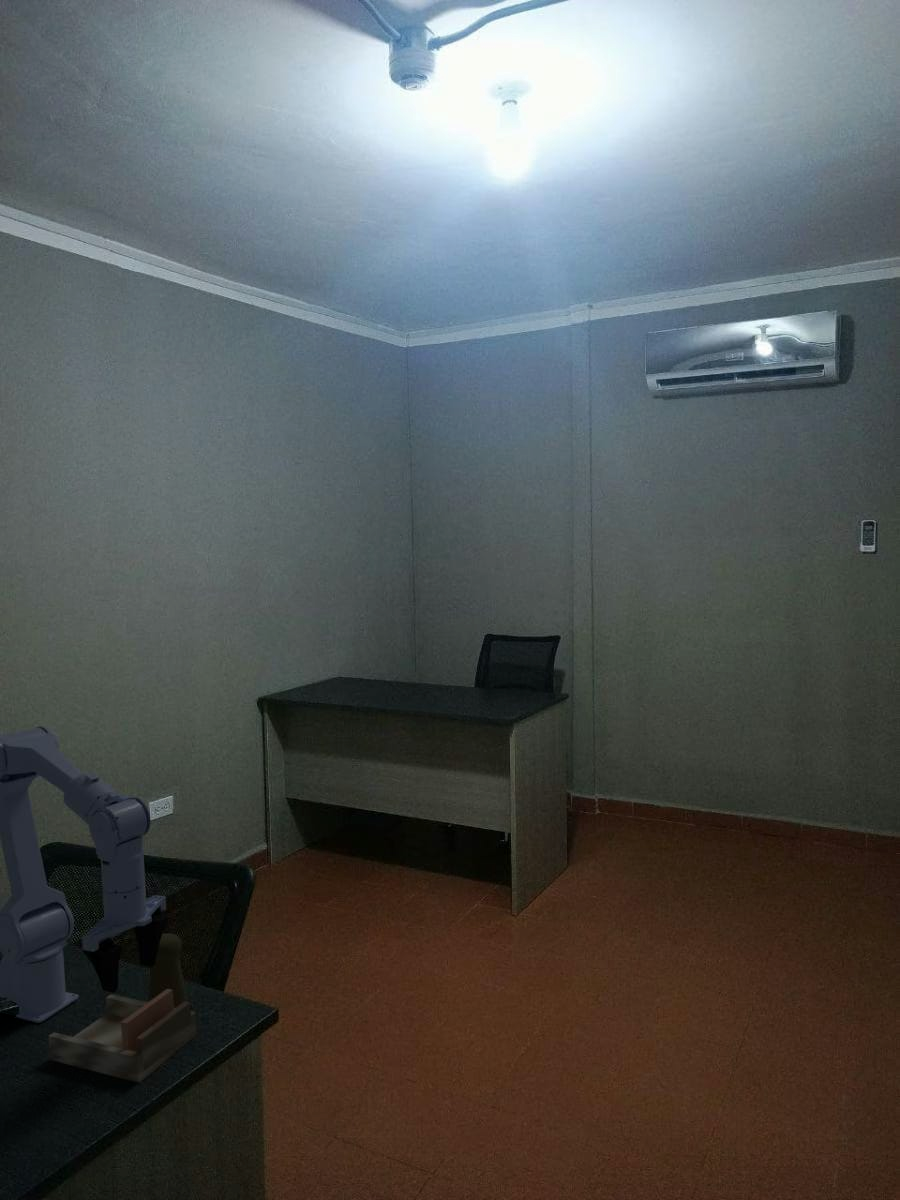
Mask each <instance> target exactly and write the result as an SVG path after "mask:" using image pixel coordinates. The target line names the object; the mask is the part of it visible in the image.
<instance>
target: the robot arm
mask: <svg viewBox="0 0 900 1200" xmlns="http://www.w3.org/2000/svg"><path fill="white" fill-rule="evenodd" d="M59 749H60V748H59V742H58V738H57V735H56V734H54V733H53V732H52V731H51V730H50V729H49V728H48V727H47V726H44V725H39V726H36V727H35V728H30V729H25V730H21V731H16V732H12V733H7V734H2V735H0V844H1V850H2V854H3V859H4V864H5V868H6V873H7V878H8V883H9V888H10V893H11V896H10V897H9V898H8V900H7V901H6V903H4V905H3V906H2V907H1V909H0V953H1V954H2V956H3V957H2V958H1V960H0V997H2V998H7V999H8V1000H11V1001H13V1002H15V1003H16V1004H17V1005H18V1006H19V1014H17V1015H16V1017H18V1018H17V1019H20V1018H21V1019H22V1020H25V1021H30V1022H33V1023H37V1024H39V1023H42V1022H44V1021H45V1020H47V1019H49V1018H50V1017H52V1016H53V1015H55V1014H56V1013H58V1012H60V1011H61V1010H63V1009H64V1008H65V1007H67V1006H69V1005H70V1004H72V1003H73V1002H75V1001H77V1000H78V999H79V998H80V996H79V994H76V993H72V992H67V991H66V977H65V976H66V975H65V964H64V963H65V962H64V961H65V960H64V950H63V948H65V947H67V945H68V942H67V941H68V939H70V937H71V936H72V934H73V931H74V925H75V922H74V921H75V920H74V915H73V913H72V910H71V909H70V908H69V906H68V904H67V901H66V897H65V893H64V892H62V891H60V890H58V889H55V888H52V887H50V886H49V885H48V883H47V882H48V881H47V877H46V872H45V869H44V868H45V867H44V863H43V858H42V853H41V848H40V843H39V840H38V835H37V834H38V833H37V830H36V825H35V820H34V815H33V810H32V805H31V800H30V796H29V788H30V786H31V785H32V783H33V781H34V780H35V779H37V778H38V777H41V778H42V779H44V780H46V781H47V782H49V783H50V784H51V785H52V786H54V787H56V788H57V789H58V790H60V791H61V792H63V802H64V804H65V806H66V807H67V808H69V809H70V811H72V812H73V813H74V814H75V815H77V817H79V818H80V819H81V820H83V822H84V823H86V824H87V825H88V829H89V833H90V837H91V839H92V841H93V843H94V846H95V854H96V856H97V859H99V860H100V863H101V864H100V866H101V867H100V869H101V884H102V885H101V887H102V901H103V915H104V916H103V917H102V918H101V919H100V921H98V922H97V924H95V925H94V926H93V927H92V928H91V929H90V930H89V931H88V932H86V933H84V934H83V935H82V936H81V942H82V943H81V950H82V953H83V955H85V956H86V958H87V959H88V960H89V961H90V963H91V965H92V966H93V968H94V970H95V974H97V978H98V980H99V982H100V986H101V989H102V991H103V992H108V993H112V994H114V993H116V992H117V991H118V988H119V966H120V965H119V963H120V960H121V959H120V958H121V955H122V952H123V948H124V947H123V946H122V945H117V944H114V941H112V939H113V938H115V937H116V936H118V935H120V934H121V933H123V932H126V931H128V930H130V929H133V930H134V933H135V935H136V936H135V937H136V940H137V942H136V943H137V949H138V958H139V962H140V965H141V966H145V967H149V968H151V967H153V966H154V965H155V962H156V957H157V952H158V947H159V943H160V940H161V936H162V934H164V931H165V929H166V927H167V925H168V923H169V921H170V920H169V915H168V914H167V913H164V912H163V911H165V910H166V909H167V899H166V896H163V895H157V894H155V895H153V896H150V897H148V898H147V893H146V876H145V873H146V872H145V860H144V859H145V858H144V841H143V840H144V839H143V838H144V837H143V836H145V835H147V834H148V833H149V831H150V829H151V823H152V821H151V814H150V811H149V809H148V806H147V805H146V803H145V802H143V801H142V799H141V798H140V797H138V796H131V797H129V796H127V795H124V796H122V795H121V794H119V793H118V792H117V791H116V790H115V789H113V788H112V787H111V786H110V785H109V784H107V783H106V782H105V781H104V780H103V779H102V778H100V776H99V775H97V774H96V773H91V772H90V773H82V772H81V771H80V770H79V769H78V768H77V767H76V766H75V765H74V764H73V763H72V762H71V760H69V758H67V757H66V756H65V755H64V753H62V752H61V751H60V750H59ZM16 1017H15V1018H16Z"/></svg>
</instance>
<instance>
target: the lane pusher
mask: <svg viewBox="0 0 900 1200" xmlns="http://www.w3.org/2000/svg"><path fill="white" fill-rule="evenodd" d="M147 1002H148V1001H147ZM173 1010H174V1002H173V990H172V989H166V990H165V991H163V992H162V993H161V994H159V995H158V996H156V997H155V998H154V999H152V1000H151V1001H149V1002H148V1003H147V1004H145V1005H144V1006H142V1007H141V1008H140V1009H138V1010H137V1011H135V1012H134V1013H133V1014H131V1015H130V1016H129V1017H127V1018H126V1019H124V1020H123V1021H122V1022H121V1031H122V1046H123V1049H126V1050H130V1051H134V1052H137V1043H136V1038H137V1037H138V1036H140V1035H141V1034H142V1033H144V1032H145V1031H146V1030H148V1029H149V1028H150V1027H151V1026H153V1025H154V1024H155V1023H157V1022H158V1021H159V1020H161V1019H162V1018H163V1017H165V1016H166V1015H167V1014H169V1013H170V1012H171V1011H173Z"/></svg>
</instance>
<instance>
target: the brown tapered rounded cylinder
mask: <svg viewBox="0 0 900 1200" xmlns="http://www.w3.org/2000/svg"><path fill="white" fill-rule="evenodd" d="M181 951H182V941H181V938H180V937H179V936H178V935H177V934H175V933H163V934H162V936H161V940H160V943H159V947H158V952H157V957H156V962H155V965H154V966H153V967H150V973H149V984H148V985H149V986H148V997H147V998H148V1000H147V1002H149V1001H151V1000H152V999H154V998H155V997H156V996H158V995H159V994H161V993H162V992H163V991H165V990H166V989H172V990H173V1002H174V1008H177V1007H178V1006H179V1005H180V1004H182V1003H183V1002H184V1001H186V1002H188V996H187V992H186V987H185V982H184V977H183V972H182V966H181V962H180V958H179V956H180V954H181Z"/></svg>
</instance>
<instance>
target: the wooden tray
mask: <svg viewBox="0 0 900 1200" xmlns="http://www.w3.org/2000/svg"><path fill="white" fill-rule="evenodd" d="M105 1000H106V1001H105V1002H106V1014H104V1015H102V1016H101V1017H100V1018H98V1019H97V1020H95V1021H94V1022H92V1023H91V1024H90V1025H88V1026H87V1027H85V1028H84V1029H82V1030H81V1031H80V1032H78V1033H77V1034H75V1035H74V1036H72V1035H67V1034H63V1033H58V1032H55V1031H54V1032H52V1033H51V1034H49V1035H48V1047H49V1050H48V1051H49V1060H50V1061H52V1062H57V1063H60V1064H65V1065H69V1066H72V1067H77V1068H81V1069H84V1070H89V1071H93V1072H96V1073H99V1074H104V1075H107V1076H111V1077H116V1078H118V1079H119V1078H120V1079H124V1080H127V1081H131V1082H135V1083H138V1082H139V1083H141V1082H142V1081H144V1080H145V1079H146V1078H147V1077H149V1075H151V1074H152V1073H153V1072H154V1071H155V1070H156V1069H158V1068H159V1067H160V1066H161V1065H162V1064H164V1063H165V1062H166V1061H167V1060H169V1057H170V1058H171V1057H173V1055H174V1053H175V1054H176V1053H177V1052H178V1051H179V1050H181V1049H182V1048H183V1047H185V1045H186V1044H188V1043H189V1042H191V1040H193V1039H194V1038H195V1037H196V1036H198V1034H197V1032H198V1031H197V1018H196V1016H197V1015H196V1012H195V1011H192V1009H191V1008H192V1007H191V1002H189V1001H187V1002H186V1001H184V1002H183V1003H182V1004H180V1005H179V1006H178V1007H177V1008H174V1010H173V1011H171V1012H170V1013H169V1014H167V1015H166V1016H165V1017H163V1018H162V1019H161V1020H159V1021H158V1022H157V1023H155V1024H154V1025H153V1026H151V1027H150V1028H149V1029H148V1030H146V1031H145V1032H144V1033H142V1034H141V1035H140V1036H138V1037H137V1038H136V1043H137V1052H134V1051H130V1050H126V1049H123V1046H122V1031H121V1022H122V1021H123V1020H124V1019H126V1018H127V1017H129V1016H130V1015H131V1014H133V1013H134V1012H135V1011H137V1010H138V1009H140V1008H141V1007H142V1006H144V1005H145V1004H147V1003H148V1001H144V1000H139V999H135V998H130V997H125V996H120V995H116V994H113V993H112V994H109V995H108V996H106V997H105ZM187 1042H188V1043H187ZM181 1047H182V1048H181ZM180 1048H181V1049H180ZM177 1050H178V1051H177ZM176 1051H177V1052H176ZM145 1077H146V1078H145Z"/></svg>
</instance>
